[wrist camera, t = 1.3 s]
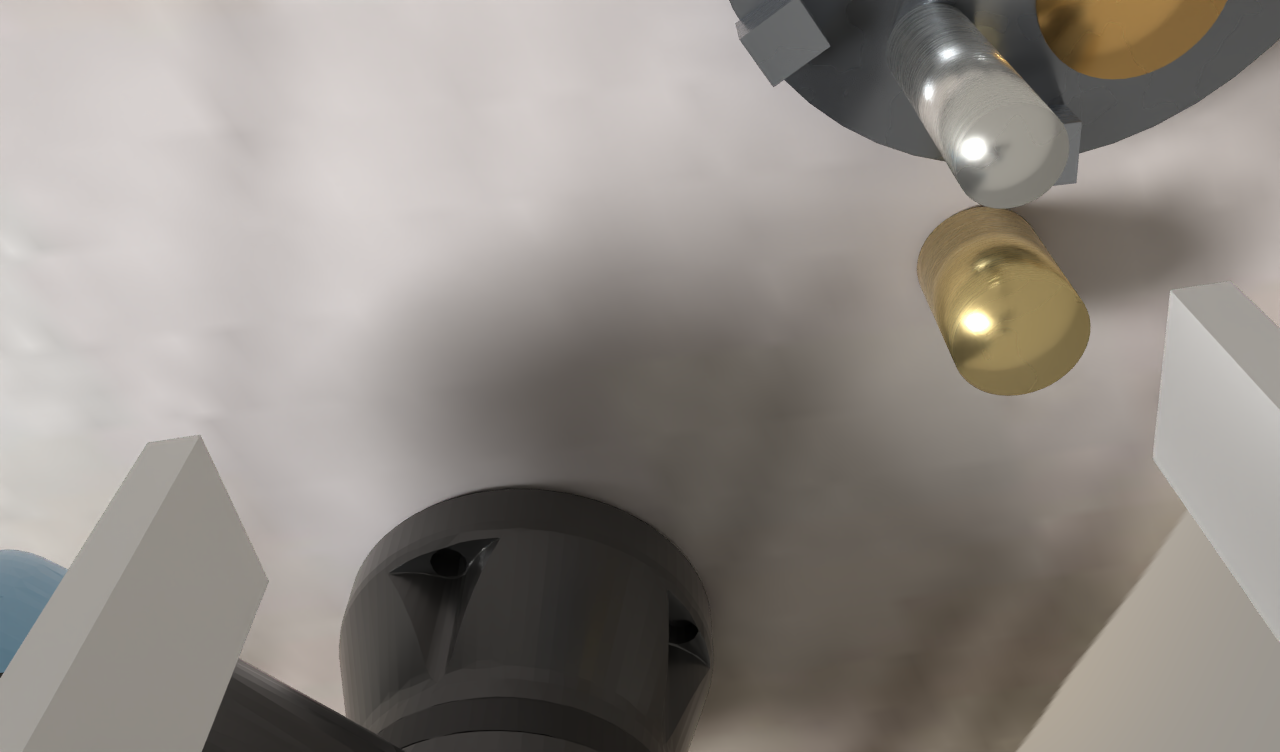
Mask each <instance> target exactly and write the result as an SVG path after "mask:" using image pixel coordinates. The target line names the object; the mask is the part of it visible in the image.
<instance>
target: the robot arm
mask: <svg viewBox="0 0 1280 752" xmlns="http://www.w3.org/2000/svg"><path fill="white" fill-rule="evenodd" d="M1153 460H1154V462H1155V463H1156V465H1157V466H1158V468H1159V469H1160V470H1161V472H1162V473H1163V475H1164V476H1165V478H1166V479H1167V481H1168V482H1169V483H1170V485H1171V486H1172V488H1173V489H1174V491H1175V492H1176V494H1177V495H1178V497H1179V498H1180V499H1181V501H1182V502H1183V504H1184V505H1185V507H1186V508H1187V510H1188V511H1189V512H1190V514H1191V515H1192V517H1193V518H1194V519H1195V521H1196V523H1197V524H1198V525H1199V527H1200V528H1201V530H1202V531H1203V533H1204V534H1205V536H1206V537H1207V539H1208V540H1209V542H1210V543H1211V544H1212V546H1213V547H1214V549H1215V550H1216V552H1217V553H1218V555H1219V556H1220V557H1221V559H1222V560H1223V562H1224V563H1225V565H1226V566H1227V568H1228V569H1229V571H1230V572H1231V573H1232V575H1233V576H1234V578H1235V579H1236V581H1237V582H1238V584H1239V585H1240V587H1241V588H1242V589H1243V591H1244V592H1245V594H1246V595H1247V597H1248V598H1249V600H1250V601H1251V602H1252V604H1253V605H1254V607H1255V608H1256V610H1257V611H1258V613H1259V614H1260V616H1261V617H1262V618H1263V620H1264V621H1265V623H1266V624H1267V626H1268V627H1269V629H1270V630H1271V632H1272V633H1273V634H1274V636H1275V637H1276V639H1277V640H1278V642H1279V643H1280V328H1279V327H1278V326H1277V325H1276V324H1275V323H1274V322H1273V321H1272V320H1271V319H1270V318H1269V317H1268V316H1267V315H1266V314H1265V313H1264V312H1263V311H1262V310H1261V309H1260V308H1259V307H1258V306H1256V305H1255V304H1254V303H1253V302H1252V301H1251V300H1250V299H1249V298H1248V297H1247V296H1246V295H1245V294H1244V293H1243V292H1242V291H1241V290H1240V289H1239V288H1238V287H1237V286H1236V285H1235V284H1234V283H1233V282H1232V281H1226V282H1219V283H1213V284H1206V285H1199V286H1193V287H1186V288H1179V289H1173V290H1170V297H1169V307H1168V316H1167V326H1166V335H1165V345H1164V354H1163V364H1162V374H1161V383H1160V393H1159V402H1158V412H1157V421H1156V431H1155V440H1154V450H1153ZM268 582H269V580H268V578H267V576H266V574H265V572H264V570H263V568H262V565H261V563H260V561H259V559H258V557H257V555H256V553H255V550H254V548H253V546H252V544H251V542H250V540H249V538H248V536H247V533H246V531H245V529H244V527H243V525H242V523H241V521H240V518H239V516H238V514H237V512H236V510H235V508H234V506H233V503H232V501H231V499H230V497H229V495H228V493H227V491H226V489H225V486H224V484H223V482H222V480H221V478H220V476H219V474H218V471H217V469H216V467H215V465H214V463H213V461H212V459H211V456H210V454H209V452H208V450H207V448H206V446H205V444H204V442H203V439H202V437H201V435H196V436H189V437H183V438H176V439H169V440H163V441H156V442H149V443H147V445H146V446H145V448H144V449H143V451H142V453H141V454H140V456H139V457H138V459H137V461H136V462H135V464H134V465H133V467H132V469H131V470H130V472H129V473H128V475H127V477H126V478H125V480H124V481H123V483H122V485H121V486H120V488H119V489H118V491H117V493H116V494H115V496H114V497H113V499H112V501H111V502H110V504H109V505H108V507H107V509H106V510H105V512H104V513H103V515H102V516H101V518H100V520H99V521H98V523H97V524H96V526H95V528H94V529H93V531H92V532H91V534H90V536H89V537H88V539H87V540H86V542H85V544H84V545H83V547H82V548H81V550H80V552H79V553H78V555H77V556H76V558H75V560H74V561H73V563H72V564H71V566H70V568H69V569H66V568H64V567H62V566H60V565H58V564H56V563H54V562H52V561H50V560H48V559H46V558H44V557H41V556H38V555H35V554H32V553H29V552H24V551H19V550H0V752H688V750H689V747H690V744H691V741H692V739H693V736H694V733H695V730H696V727H697V724H698V721H699V718H700V715H701V712H702V709H703V707H704V704H705V701H706V698H707V695H708V692H709V688H710V684H711V678H712V671H713V656H714V654H713V640H712V625H711V613H710V607H709V602H708V599H707V596H706V593H705V590H704V588H703V585H702V583H701V581H700V579H699V577H698V575H697V574H696V572H695V570H694V569H693V567H692V566H691V564H690V563H689V562H688V561H687V559H686V558H685V557H684V556H683V554H682V553H681V552H680V551H679V550H678V549H677V548H676V547H675V546H674V545H673V544H672V543H671V542H670V541H669V540H668V539H666V538H665V537H664V536H663V535H661V534H660V533H659V532H658V531H656V530H655V529H653V528H652V527H650V526H649V525H647V524H646V523H644V522H642V521H641V520H639V519H637V518H636V517H634V516H632V515H630V514H628V513H626V512H624V511H621V510H619V509H617V508H614V507H612V506H610V505H607V504H604V503H601V502H598V501H595V500H592V499H588V498H585V497H581V496H576V495H572V494H567V493H560V492H554V491H545V490H530V489H509V490H495V491H488V492H480V493H475V494H470V495H465V496H462V497H458V498H454V499H451V500H448V501H445V502H442V503H439V504H437V505H434V506H432V507H429V508H427V509H425V510H423V511H421V512H419V513H417V514H415V515H413V516H412V517H410V518H408V519H407V520H405V521H403V522H402V523H401V524H399V525H398V526H396V527H395V528H394V529H393V530H391V531H390V532H389V533H388V534H387V535H385V536H384V537H383V538H382V539H381V540H380V541H379V542H378V543H377V545H376V546H375V547H374V548H373V549H372V550H371V552H370V553H369V555H368V556H367V557H366V559H365V560H364V562H363V564H362V566H361V568H360V569H359V572H358V574H357V576H356V579H355V582H354V585H353V588H352V591H351V595H350V598H349V601H348V605H347V608H346V611H345V614H344V618H343V621H342V626H341V632H340V643H339V659H340V668H341V677H342V686H343V695H344V704H345V713H346V717H344V716H343V715H341V714H339V713H337V712H335V711H334V710H332V709H330V708H328V707H326V706H325V705H323V704H321V703H319V702H317V701H316V700H314V699H312V698H310V697H308V696H307V695H305V694H303V693H301V692H299V691H298V690H296V689H294V688H292V687H290V686H289V685H287V684H285V683H283V682H281V681H279V680H278V679H276V678H274V677H272V676H270V675H269V674H267V673H265V672H263V671H261V670H260V669H258V668H256V667H254V666H252V665H251V664H249V663H247V662H245V661H243V660H242V659H240V658H239V656H240V653H241V651H242V648H243V645H244V643H245V640H246V638H247V635H248V633H249V630H250V628H251V625H252V623H253V620H254V618H255V615H256V612H257V610H258V607H259V605H260V602H261V600H262V597H263V595H264V592H265V590H266V587H267V584H268Z"/></svg>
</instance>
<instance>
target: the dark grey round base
mask: <svg viewBox="0 0 1280 752" xmlns="http://www.w3.org/2000/svg"><path fill="white" fill-rule="evenodd" d="M729 1H730V3H731V5H732V8H733V10H734V11H735V13H736V15H737V16H738V18H739V19H740V21H738V22H737V23H736V28H737V32H738V36H739V40H740V41H741V42H742V44H743V45H744V47H745V48H746V49H747V51H748V52H749V54H750V55H751V56H752V58H753V59H754V61H755V62H756V63H757V65H758V66H759V68H760V69H761V70H762V72H763V73H764V75H765V76H766V77H767V79H768V80H769V82H770V83H771V84H772V86H773V87H774V86H776V85H777V84H779V83H780V82H781V81H783V80H785V81H786V82H787V83H788V84H789V85H791V86H792V87H793V88H794V89H795V90H796V91H797V92H798V93H799V94H800V95H801V96H802V97H804V98H805V99H806V100H807V101H808V102H809V103H810V104H812V105H813V106H814V107H816V108H817V109H819V110H820V111H822V112H823V113H825V114H826V115H827V116H829V117H830V118H832V119H833V120H835V121H836V122H838V123H839V124H840V125H842V126H844V127H846V128H848V129H850V130H852V131H854V132H856V133H858V134H860V135H862V136H864V137H866V138H868V139H870V140H872V141H874V142H876V143H879V144H882V145H884V146H887V147H890V148H893V149H896V150H899V151H902V152H905V153H908V154H911V155H915V156H920V157H925V158H930V159H935V160H940V161H945V162H946V163H947V164H948V166H949V168H950V169H951V171H952V173H953V174H954V176H955V178H956V179H957V181H958V183H959V184H960V186H961V188H962V189H963V190H964V192H965V193H966V194H967V195H968V196H969V197H970V198H971V199H972V200H974V201H975V202H977V203H979V204H981V205H983V206H986V207H990V208H997V209H1007V208H1014V207H1019V206H1022V205H1025V204H1027V203H1030V202H1032V201H1034V200H1035V199H1037V198H1039V197H1040V196H1042V195H1043V194H1044V193H1045V192H1047V191H1048V190H1049V189H1050V188H1051V187H1052V186H1055V185H1064V184H1072V183H1076V180H1077V169H1078V158H1079V153H1082V152H1086V151H1089V150H1092V149H1096V148H1099V147H1102V146H1106V145H1109V144H1112V143H1115V142H1118V141H1120V140H1122V139H1125V138H1127V137H1130V136H1132V135H1134V134H1137V133H1139V132H1141V131H1144V130H1146V129H1149V128H1151V127H1153V126H1156V125H1157V124H1159V123H1161V122H1163V121H1165V120H1167V119H1168V118H1170V117H1172V116H1174V115H1176V114H1178V113H1179V112H1181V111H1183V110H1185V109H1187V108H1188V107H1190V106H1192V105H1194V104H1196V103H1197V102H1199V101H1200V100H1202V99H1203V98H1204V97H1206V96H1207V95H1209V94H1210V93H1212V92H1213V91H1215V90H1216V89H1218V88H1219V87H1221V86H1222V85H1223V84H1225V83H1226V82H1228V81H1229V80H1231V79H1232V78H1234V77H1235V76H1236V75H1237V74H1239V73H1240V72H1241V71H1242V70H1243V69H1245V68H1246V67H1247V66H1248V65H1249V64H1251V63H1252V62H1253V61H1254V60H1255V59H1257V58H1258V57H1259V56H1260V55H1261V54H1263V53H1264V52H1265V51H1266V50H1267V49H1268V48H1270V47H1271V46H1272V45H1273V44H1274V43H1275V42H1276V41H1277V40H1278V39H1279V38H1280V0H729Z"/></svg>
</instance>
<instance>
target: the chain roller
mask: <svg viewBox="0 0 1280 752" xmlns="http://www.w3.org/2000/svg"><path fill="white" fill-rule="evenodd" d="M917 276H918V280H919V283H920V286H921V288H922V291H923V293H924V295H925V297H926V300H927V302H928V304H929V306H930V309H931V311H932V313H933V315H934V318H935V320H936V322H937V324H938V327H939V329H940V331H941V333H942V336H943V338H944V340H945V342H946V345H947V347H948V349H949V351H950V354H951V356H952V358H953V360H954V363H955V365H956V367H957V369H958V371H959V372H960V374H961V375H962V376H963V378H964V379H965V380H966V381H967V382H969V383H970V384H971V385H973V386H974V387H976V388H978V389H980V390H982V391H984V392H988V393H991V394H996V395H1006V396H1011V395H1022V394H1027V393H1031V392H1035V391H1037V390H1040V389H1043V388H1045V387H1047V386H1049V385H1051V384H1053V383H1054V382H1056V381H1058V380H1059V379H1060V378H1062V377H1063V376H1064V375H1066V374H1067V373H1068V372H1069V371H1070V370H1071V369H1072V368H1073V367H1074V366H1075V364H1076V363H1077V362H1078V361H1079V359H1080V358H1081V356H1082V355H1083V353H1084V351H1085V349H1086V346H1087V343H1088V340H1089V336H1090V318H1089V314H1088V311H1087V309H1086V307H1085V305H1084V303H1083V302H1082V300H1081V299H1080V297H1079V296H1078V294H1077V293H1076V291H1075V290H1074V289H1073V287H1072V286H1071V284H1070V283H1069V281H1068V280H1067V278H1066V277H1065V275H1064V274H1063V273H1062V271H1061V270H1060V268H1059V267H1058V265H1057V264H1056V262H1055V261H1054V259H1053V258H1052V257H1051V255H1050V254H1049V252H1048V251H1047V249H1046V248H1045V246H1044V245H1043V243H1042V242H1041V240H1040V239H1039V238H1038V236H1037V235H1036V233H1035V232H1034V230H1033V229H1032V227H1031V226H1030V225H1029V223H1028V222H1027V221H1026V220H1025V219H1023V218H1022V217H1021V216H1019V215H1018V214H1016V213H1014V212H1012V211H1010V210H1007V209H997V208H990V207H977V208H971V209H968V210H965V211H962V212H959V213H957V214H955V215H953V216H951V217H950V218H948V219H946V220H945V221H944V222H942V223H941V224H940V225H939V226H938V227H936V228H935V229H934V231H933V232H932V233H931V234H930V235H929V237H928V238H927V239H926V241H925V243H924V244H923V246H922V248H921V251H920V254H919V258H918V262H917Z"/></svg>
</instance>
